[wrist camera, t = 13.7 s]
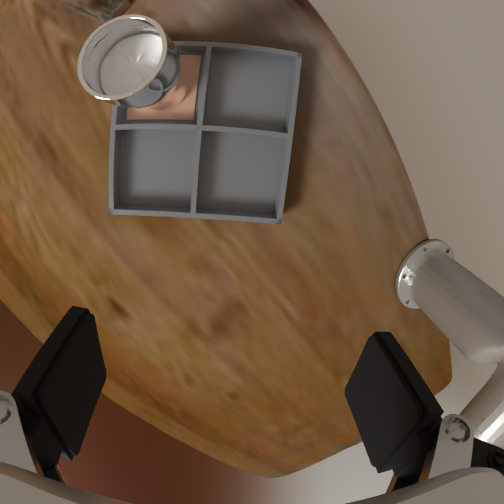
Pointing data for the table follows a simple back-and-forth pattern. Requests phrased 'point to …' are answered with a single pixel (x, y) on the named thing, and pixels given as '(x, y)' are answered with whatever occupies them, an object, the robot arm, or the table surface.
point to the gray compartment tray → (211, 139)
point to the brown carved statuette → (97, 8)
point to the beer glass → (133, 65)
